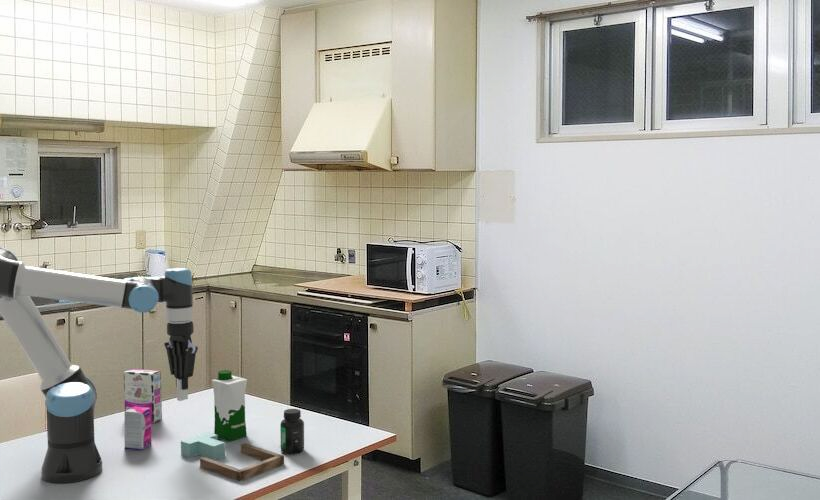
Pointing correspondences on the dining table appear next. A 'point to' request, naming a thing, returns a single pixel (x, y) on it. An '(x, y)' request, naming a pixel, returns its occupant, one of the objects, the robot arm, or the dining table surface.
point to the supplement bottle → (292, 432)
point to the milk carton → (229, 406)
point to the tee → (203, 446)
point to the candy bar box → (143, 391)
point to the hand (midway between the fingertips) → (182, 399)
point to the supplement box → (137, 428)
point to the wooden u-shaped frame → (231, 472)
